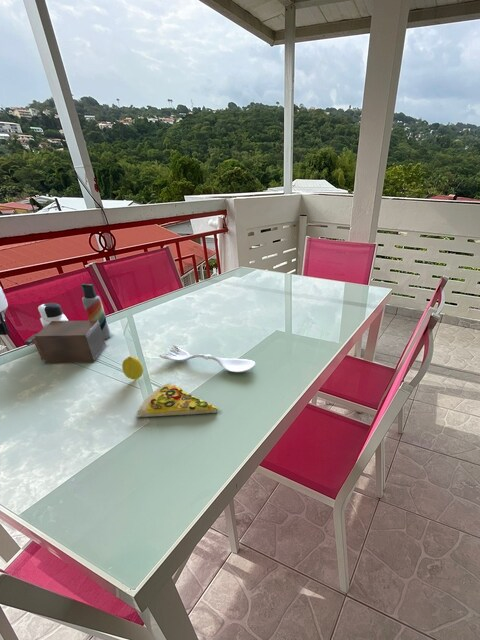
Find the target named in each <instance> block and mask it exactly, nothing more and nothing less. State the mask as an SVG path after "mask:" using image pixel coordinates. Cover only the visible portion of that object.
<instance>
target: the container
mask: <svg viewBox="0 0 480 640" xmlns="http://www.w3.org/2000/svg"><path fill="white" fill-rule="evenodd" d="M37 310H38V312H39V315H40V318H39V321H40V323H41V325H42V329H43V328H44V327H46V326H47V325H48V324H49V323H50V322H52V321H69V319H68V318H67V316H66V315H65V314H64V312H63V309H62V307H61V304H58V303H56V302H47V303H42V304H40V305H39V306H38V307H37Z"/></svg>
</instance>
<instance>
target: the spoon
mask: <svg viewBox="0 0 480 640" xmlns="http://www.w3.org/2000/svg"><path fill="white" fill-rule="evenodd" d="M158 356H159V358H161V359H165V360H169V361H176V362H186V361H189V360H191V359H195V358H202V359H204V360H213V361H216V363H218V364H219V365H220V366H221V367H222V368H223V369H224V370H226V371H227V372H232V373H246V372H249V371H252V370H254V368H255V367H256V362H255V361H254V360H251V359H245V358H225V357H224V358H222V357H217V356H213V355H211V354H203V353H195V354H190V353H189V352H188V351H187V350H184V349H182V348H180V347H179V346H177V345H175V344H172V347H171V349H169V351H167V353H163V354H159V355H158Z"/></svg>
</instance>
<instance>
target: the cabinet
mask: <svg viewBox="0 0 480 640" xmlns="http://www.w3.org/2000/svg"><path fill="white" fill-rule="evenodd" d="M35 334H36V335H35V336H34V337H35V339H36V341H37V344H38V346H39V348H40V351H41V353H42V355H43V358H44V360H43V361H44V362H45V364H73V363H95V362H96V360H98V358H99V356H100V355H101V353H102V352H103V351H104V349H105V348H106V347H107V344H106V341H105V340H106V339H105V340H104V337H103V334H102V330H101V327H100V324H99V321H89V320H68V321H52V322H50V323H49V324H48V325H47V326H46V327H44V328H43V327H42V329H41V330H40V331H39V332H37V333H35Z"/></svg>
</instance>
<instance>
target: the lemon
mask: <svg viewBox="0 0 480 640" xmlns="http://www.w3.org/2000/svg"><path fill="white" fill-rule="evenodd" d="M121 369H122V372H123V374H124V376H125V377H126V378H128V379H130V380H134V381H137V380H138V379H139V378H141V377H142V375H143V373H144V367H143V364H142V362H141V361H140V359H139V358H137V357H135V356H131V355H129V356H127V357H126V358H124V360H123V361H122V364H121Z"/></svg>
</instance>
